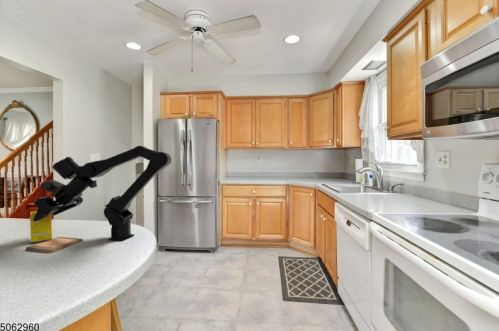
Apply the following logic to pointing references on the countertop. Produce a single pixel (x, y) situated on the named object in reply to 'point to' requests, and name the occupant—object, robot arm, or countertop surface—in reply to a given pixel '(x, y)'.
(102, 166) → the robot arm
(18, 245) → the countertop surface
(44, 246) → the marked board
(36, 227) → the supplement box
